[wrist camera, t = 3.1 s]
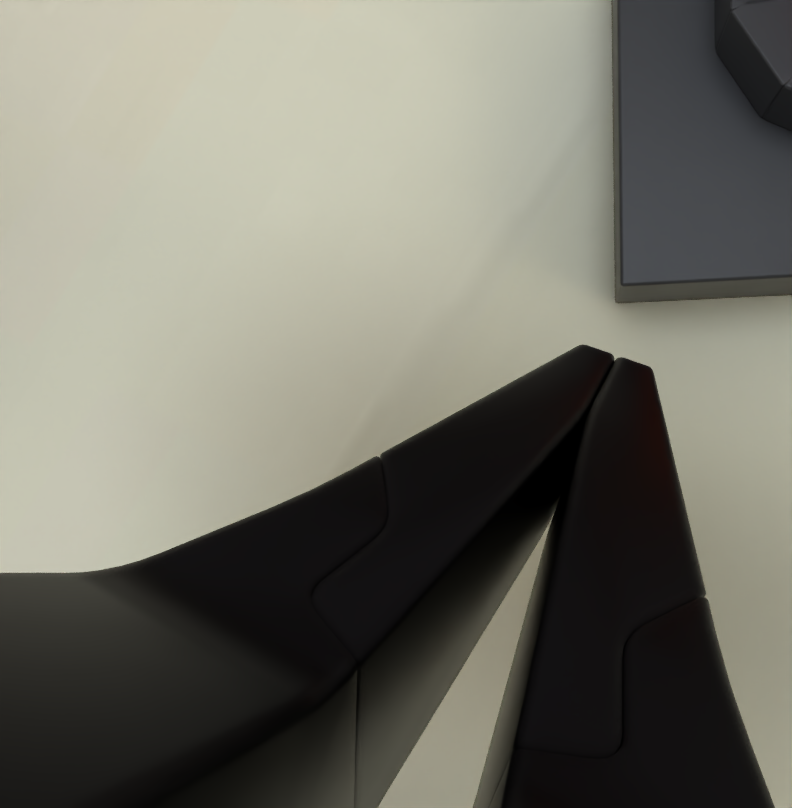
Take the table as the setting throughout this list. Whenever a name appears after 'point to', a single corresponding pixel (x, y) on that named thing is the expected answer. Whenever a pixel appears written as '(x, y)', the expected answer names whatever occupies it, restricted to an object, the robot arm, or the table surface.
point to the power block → (702, 149)
